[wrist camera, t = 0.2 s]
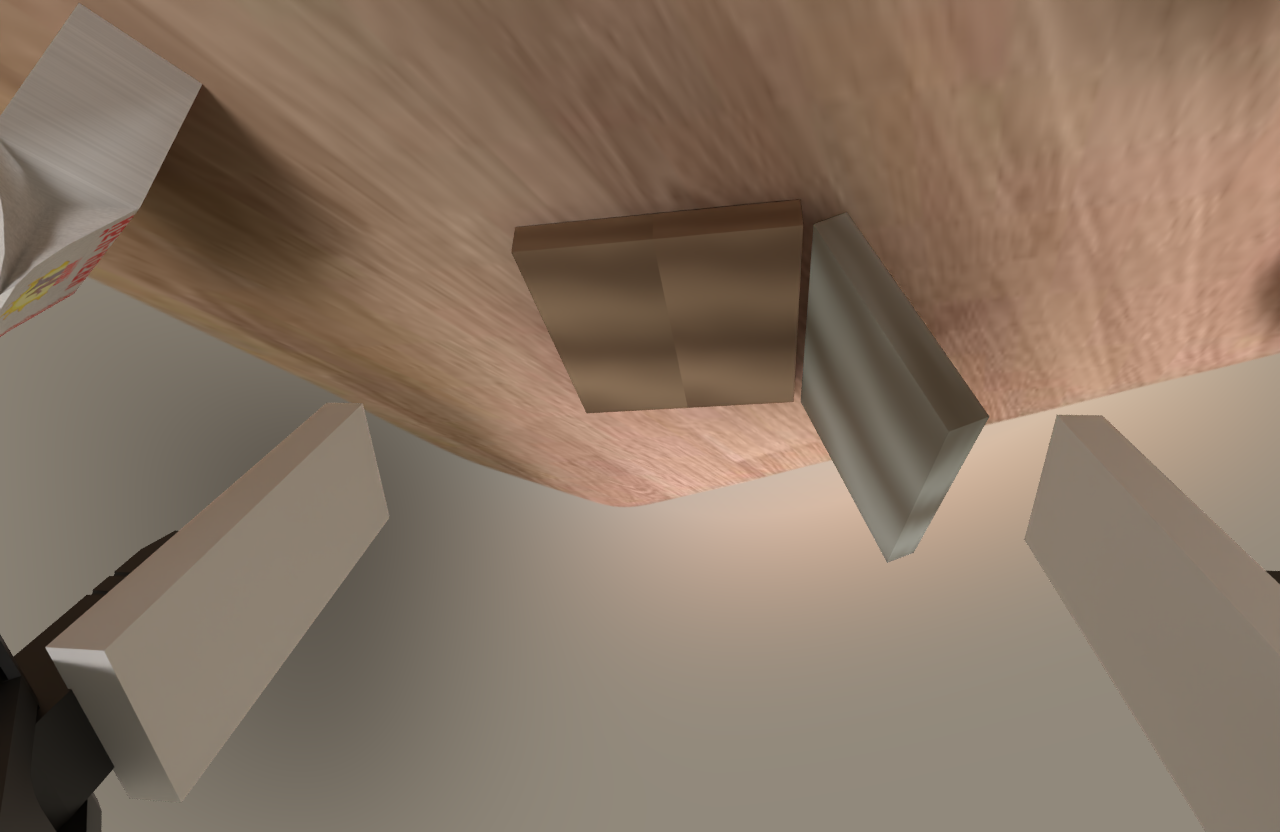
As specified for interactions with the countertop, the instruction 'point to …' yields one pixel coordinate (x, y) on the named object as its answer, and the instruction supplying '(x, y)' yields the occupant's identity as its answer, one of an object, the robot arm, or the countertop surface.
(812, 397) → the grey flat slab
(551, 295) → the floorboard
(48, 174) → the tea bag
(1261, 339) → the countertop surface
